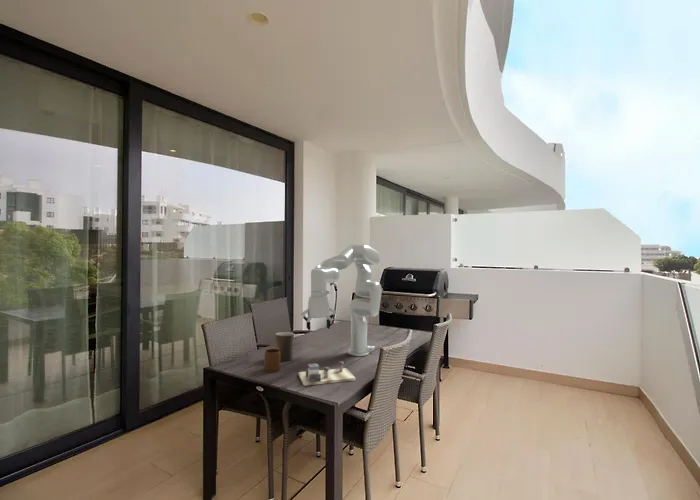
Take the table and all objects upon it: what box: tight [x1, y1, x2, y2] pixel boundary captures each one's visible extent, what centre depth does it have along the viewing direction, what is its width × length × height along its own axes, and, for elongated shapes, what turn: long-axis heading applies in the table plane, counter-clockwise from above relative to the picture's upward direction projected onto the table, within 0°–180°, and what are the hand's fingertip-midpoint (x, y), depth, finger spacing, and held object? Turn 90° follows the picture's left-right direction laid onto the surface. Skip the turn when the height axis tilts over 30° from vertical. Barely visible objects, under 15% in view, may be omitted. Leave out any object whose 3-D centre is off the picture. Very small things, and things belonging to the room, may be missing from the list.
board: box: [297, 360, 357, 386], centre depth 160 cm, size 24×14×6 cm, turn 109°
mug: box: [264, 348, 281, 373], centre depth 170 cm, size 12×8×9 cm, turn 173°
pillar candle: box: [274, 331, 294, 363], centre depth 186 cm, size 10×10×15 cm
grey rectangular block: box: [307, 363, 320, 378], centre depth 154 cm, size 4×4×6 cm
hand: (318, 328), depth 167 cm, fingers open, 9 cm apart
